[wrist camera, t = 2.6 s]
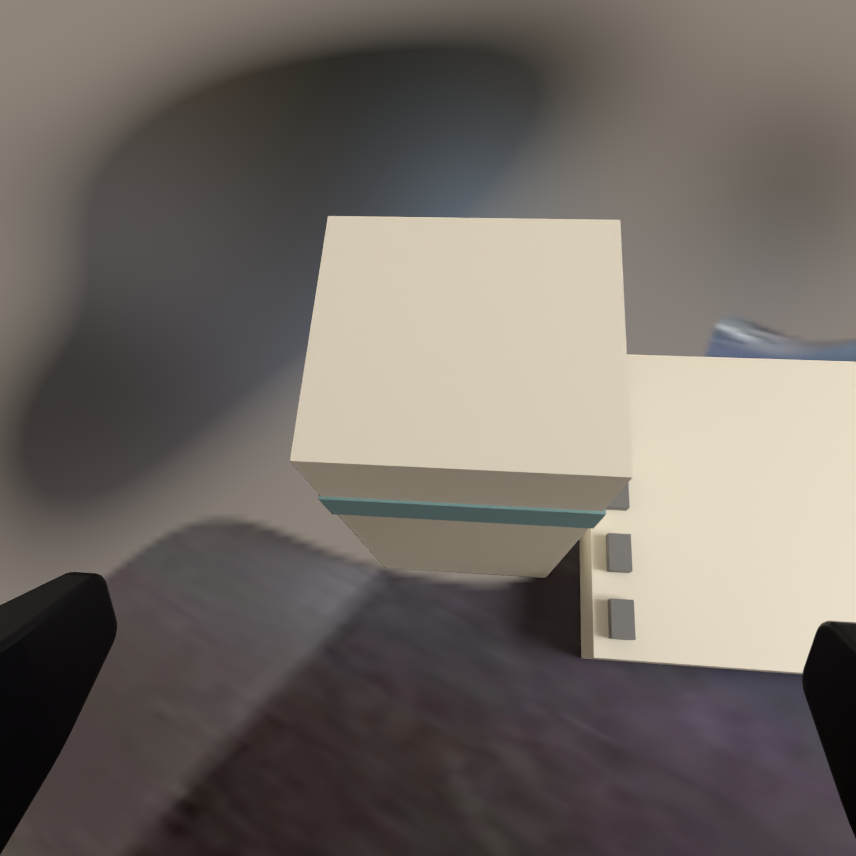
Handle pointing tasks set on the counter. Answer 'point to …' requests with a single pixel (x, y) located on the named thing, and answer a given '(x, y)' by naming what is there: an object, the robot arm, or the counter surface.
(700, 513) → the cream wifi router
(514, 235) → the cream box
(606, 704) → the counter surface
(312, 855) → the counter surface
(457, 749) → the counter surface
